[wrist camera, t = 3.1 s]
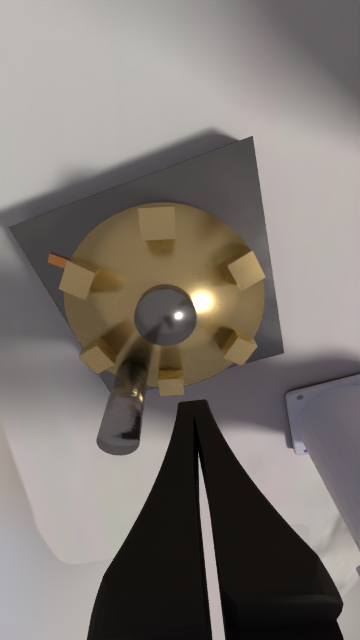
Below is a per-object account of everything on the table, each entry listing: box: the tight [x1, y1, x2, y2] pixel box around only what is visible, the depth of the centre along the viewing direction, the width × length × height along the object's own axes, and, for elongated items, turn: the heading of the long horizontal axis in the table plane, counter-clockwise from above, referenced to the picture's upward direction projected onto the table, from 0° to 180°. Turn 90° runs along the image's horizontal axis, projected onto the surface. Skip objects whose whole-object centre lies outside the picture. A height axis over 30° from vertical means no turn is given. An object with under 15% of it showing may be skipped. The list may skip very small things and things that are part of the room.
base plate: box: [9, 136, 284, 392], centre depth 15 cm, size 12×12×2 cm
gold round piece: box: [59, 202, 265, 455], centre depth 11 cm, size 10×10×6 cm
